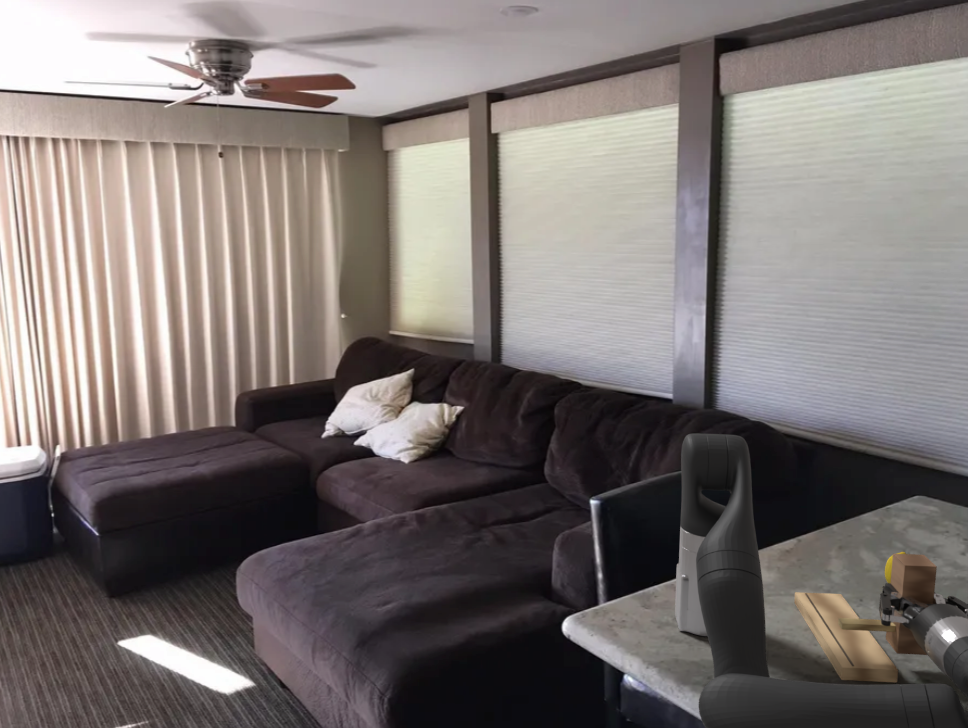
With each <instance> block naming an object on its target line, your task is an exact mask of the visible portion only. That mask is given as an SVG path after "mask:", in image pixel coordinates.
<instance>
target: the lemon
mask: <svg viewBox="0 0 968 728" xmlns="http://www.w3.org/2000/svg"><path fill="white" fill-rule="evenodd" d="M895 554H907V553H906V552H905V551H901V552H896V553H895ZM892 560H893V554H892V555H891V556H890V557H889V558H888V559H887V561H886V563H885V567H884V579H885V581H886V583H891V571H892Z"/></svg>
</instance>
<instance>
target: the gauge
mask: <svg viewBox="0 0 968 728" xmlns="http://www.w3.org/2000/svg"><path fill="white" fill-rule="evenodd" d="M892 555H893V560H892V571H891V585H892V586H893V587H894V588H895V589H896V590H897V591H898V592H899V594H901V595H903V596H904V597H907V596H910V597H912V598H913V599H915V600H917V601H918V602H920V603H924V604H933V602H934V592H936V591H935V590H936V578H937V570H938V567H937V566H936V564H935V563H934V562H932V561H931V560H930V559H929V558H928V557H927V556H926V555H925V554H914V553H913V554H911V553H906V554H896V553H892ZM899 607H900V602H899ZM838 625H839V626H840V627H841V629H842V630H863V631H869V632H886V633H885V640H886V642H888V643H889V645H890V647H892V649H893V650H894V652H895V654H898V655H899V654H900V655H916V656H928V655H927V654H926V653H925V652H924V650H923V649H922V648H921V647H920V646H919V644H918V643H917V642H916V640H915V638H914V636H913V633H912V631H911V630H909V629H908V628H906V627H904V626H903V624H902V623H899V622H893V623H891V625H890V626H884V625H882V624H881V619H872V618H870V619H869V618H859V619H852V618H839V619H838ZM888 643H887V644H888Z"/></svg>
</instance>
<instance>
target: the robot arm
mask: <svg viewBox="0 0 968 728" xmlns="http://www.w3.org/2000/svg"><path fill="white" fill-rule="evenodd" d="M749 449H750V448H749V446H748V443H747V441H746V440H745V438H744V437H742V436H740V435H736V434H722V433H719V434H718V433H689V434H687V435H685V437H684V439H683V441H682V445H681V451H680V452H681V453H680V456H681V457H680V459H681V460H680V464H681V465H680V467H681V469H680V471H681V472H680V473H681V504H680V505H681V506H680V507H681V509H680V522H679V523H680V527H679V528H680V529H679V530H680V531H679V552H678V557H679V558H678V563H677V564H676V571H675V572H676V573H675V575H676V577H675V600H674V603H675V604H674V617H675V619H676V620H675V621H676V624H677V627H678V630H679V631H680V632H687V633H690V634H694V635H697V636H701V637H707V640H708V643H709V646H710V653H711V656H712V664H713V678H712V679H711V680H709V682H708V683H707V684H706V685H705V686H703V689H702V691H701V692H700V695H699V699H698V712H699V713H698V714H699V716H700V719H701V722H702V724H703V726H704V728H968V711H966V710H965V708H964V706H963V704H962V702H961V699H960V696H959V695H958V693H957V691H956V690H955V689H954V688H953V687H952V686H950V685H948V684H945V683H905V684H903V683H900V684H899V683H896V684H895V683H894V684H893V683H892V684H847V683H845V684H844V683H827V682H826V683H825V682H814V681H804V680H803V681H802V680H794V679H793V680H792V679H791V680H790V679H783V678H777V677H770V671H769V666H768V665H769V664H768V659H767V658H768V657H767V645H766V643H767V638H766V637H767V636H766V634H767V633H766V632H767V631H766V614H765V611H766V610H765V609H766V608H765V595H764V584H763V582H764V581H763V575H762V566H761V560H760V554H759V547H758V546H759V545H758V541H757V534H756V526H755V520H754V506H753V490H752V489H753V488H752V484H753V483H752V467H751V455H750V450H749ZM705 490H706V491H726V492H729V493H730V496H729V499H728V502H727V504H726V505H723V504H720V503H718V502H715V501H713V500H712V499H710V498H709V497H706V496H705V495H704V494H703V493H702V491H705ZM879 594H880V596H879V604H878V605H879V608H878V611H879V618H880V620H881V624H882V625H884V626H890V625H891V623H893V622H899V623H902V624H903V626H904V627H906V628H908V629H909V630H911V631H912V633H913V636H914V638H915V640H916V642H917V643H918V644H919V646H920V647H921V648H922V649H923V650H924V652H925V653H926V654H927V655H926V656H928V658H929V659H930V660H931V661H932V662H933V663H934V664H935V665H936V666H937V668H938V669H939V670H940V671H941V673H943V674H945V676H947V677H948V678H949V679H950V680H951V681H952V683H953V684H954V685H955V686H956V687H957V688H958V689H959V691H960V692H961V693H962V694H963V695H964V696H965V697H966V698H968V603H966V602H964V601H963V600H961V599H960V598H958V597H956V596H953V595H948V596H947V597H943V594H940V593H936V591H934V602H933V604H924V603H920V602H918V601H917V600H915V599H913V598H912V597H910V596H907V597H904V596H903V595H901V594H899V592H898V591H897V590H896V589H895V588H894V587H893V586H892V585H891V583H887V582H885V584H884V585H883V586H882V592H881V593H879ZM899 602H900V607H899Z"/></svg>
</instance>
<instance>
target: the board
mask: <svg viewBox="0 0 968 728" xmlns="http://www.w3.org/2000/svg"><path fill="white" fill-rule="evenodd" d="M794 604H795V606H796V608H797V610H798V611H799V612H800V615H801V616H802V618H803V619H804V621H805V623H806V624H807V626H808V627H809V629H810V631H811V632H812V634H813V636H814V637H815V639H816V641H817V642H818V644H819V646H820V647H821V649H822V651H823V652H824V654H825V657H827V659H828V661H829V662H830V664H831V665H832V667H833V668H834V670H835V673H836V674H837V675H838V677H839V678H840V680H841V681H855V682H856V681H857V682H858V681H859V682H876V683H877V682H880V683H898V675H899V669H898V668H897V666H896V665H895V664H894V662H893V661H892V660H891V659H890V657H889V656H888V655H887V654H886V652H885V651H884V649H883V648H882V646H881V645H880V644H879V643H878V642H877V640H876V638H875V637H874V636H873V635H872V633H871V631H863V630H842V629H841V627H840V626H839V625H838V619H839V618H852V619H860V617H859V616H858V615H857V613H856V612H855V611H854V610H853V608H852V606H851V605H850V604H849V603H848V601H847V600H846V599H845V598H844V596H843V594H841V593H828V592H827V593H826V592H825V593H821V592H798V591H797V592H794Z"/></svg>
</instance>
